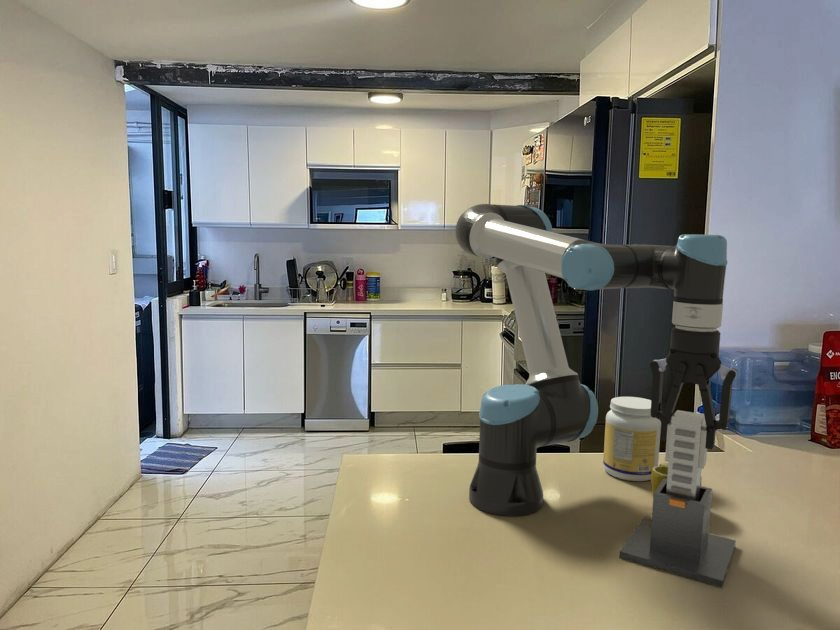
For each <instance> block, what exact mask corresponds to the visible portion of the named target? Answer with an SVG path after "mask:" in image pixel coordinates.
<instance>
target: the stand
mask: <svg viewBox="0 0 840 630" xmlns="http://www.w3.org/2000/svg"><path fill="white" fill-rule="evenodd" d="M666 489H667V479H665V478H664V479H663V480H662V482H661V483H660V485H659V486H658V488H657V489H656V490H655V492H654V495H653V494H652V509H651V510H652V511H651V512H652V513H651V518H649V517H646V516H642V518H641V519H640V520H639V522H638V524H637V525H636V527H635V528H634V530H633V531H632V533H631V534H630V536H629V537H628V539H627V540H626V542H625V543H624V544H623V546H622V547H621V549H620V551H619V559H623V560H626V561H629V562H632V563H635V564H638V565H642V566H646V567H648V568H652V569H656V570H660V571H663V572H666V573H670V574H673V575H676V576H681V577H683V578H687V579H690V580H693V581H697V582H700V583H704V584H706V585H710V586H713V587H716V588H717V587H718V588H720V589H723V587H724V584H725V581H726V578H727V575H728V571H729V567H730V564H731V562H732V558H733V554H734V552H735V548H736V540H735V539H732V538H728V537H724V536H720V535H716V534H712V533H709V531H710V529H709V528H710V522H711V521H710V519H711V518H710V517H711V508H712V507H711V505H712V493H713V488H710V487H706V486H702V485H701V486H700V495H699V502H698V501H694V500H690V499H685V498H681V497H677V496H672V495H668V494H666Z"/></svg>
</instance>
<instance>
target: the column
mask: <svg viewBox="0 0 840 630" xmlns="http://www.w3.org/2000/svg"><path fill="white" fill-rule="evenodd" d="M704 426H705V427H706V422H705V416H704V413H698V412H692V411H686V410H680V409H677V410H676V411H675V412H673V414H672V418H671V435H670V448H669V462H668V475H667V489H666V494H668V495H672V496H677V497H681V498H685V499H690V500H694V501H698V502H699V495H700V483H701V484H702V480H701V477H702V471H703V469H701V468H699V455H700V443H701V430H702V429H703V427H704Z"/></svg>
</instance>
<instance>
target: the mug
mask: <svg viewBox="0 0 840 630" xmlns="http://www.w3.org/2000/svg"><path fill="white" fill-rule="evenodd" d="M667 475H668V463H667V462H665V463H660V464H658V466H657V467H654V468H653V469H652V473H651V480H650V482H651V483H650V484H651V493H652V496H653V495H654V492H655V490H656V489H657V488H658V486H659V485H660V483H661V482H662V480H663V479H664V478H665V479H667ZM702 478H703V477H702V476H701V481H702ZM700 486H702V482H701V483H700Z"/></svg>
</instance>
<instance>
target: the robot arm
mask: <svg viewBox="0 0 840 630" xmlns="http://www.w3.org/2000/svg"><path fill="white" fill-rule="evenodd" d="M454 234H455V239H456V241H457V244H458V245H459V246H460V248H461V249H462V250H463V251H464V252H465V253H467V254H469V255H473V256H475V257H479V258H482V259H491V258H494V259H495V263H496V267H497V270H498V271H500V272H502V273H503V274H505V276H506V281H507V284H508V285H507V286H508V290H509V294H510V299H511V302H512V303H511V304H512V307H513V310H514V311H513V312H514V315H515V320H516V323H517V328H518V332H519V337H520V342H521V344H522V349H523V353H524V358H525V362H526V365H527V370H528V374H529V375H528V379H527V381H526V382H525V384H522V383H516V384H515V383H514V384H501V385H497V386H494V387H492V388H489V389H488V390H486V391H485V392H484V394H483V395H482V397H481V399H480V408H479V413H478V416H479V439H478V440H479V443H478V463H477V466H476V468H475V471H474V474H473V477H472V479H471V482H470V484H469V489H468V500H469V502H470V503H471V504H472V505H473V506H474V507H475V508H477V509H479V510H481V511H482V512H486V513H489V514H493V515H496V516H497V515H499V516H506V517H507V516H508V517H519V516H526V515H527V516H528V515H530V514H533V513H536V512H538V511H539V510H541V508H542V507H543V505H544V491H543V487H542V483H541V480H540V476H539V473H538V470H537V449H538V448H541V447H546V446H551V445H556V444H557V445H558V444H561V443H562V444H563V443H570V442H575V441H577V440H579V439H582V438H585V437H587V436H588V435H589V434H590V433H592V431H593V429H594V427H595V425H596V424H597V422H598V421H597V420H598V417H599V416H598V415H599V405H598V401H597V398H596V395H595V393H594V392H593V391H592V390H591V389H590V388H589V387H588V386H587V385H585V384H582V383H581V381H580V378H579V374H578V372H576V371H574V370H573V369H571V368H570V367H569V363H568V359H567V355H566V351H565V348H564V344H563V339H562V335H561V331H560V327H559V323H558V320H557V316H556V311H555V308H554V303H553V299H552V296H551V291H550V288H549V284H548V280H547V276H546V274H548V275H551V276H554V277H557V278H560V279H563V281H565V282H566V283H567V285H568V286H569V287H570V288H572V289H576V290H585V291H596V290H611V289H612V290H613V289H614V290H615V289H641V288H643V289H645V288H649V289H650V288H653V289H661V290H662V289H665V290H673V302H672V303H673V305H672V317H671V323H672V324H673V325H675V326H674V327H672V328H671V332H670V342H669V343H670V345H669V352H668V354H667V356H666V357H665V358H662V359H653V360H652V361H651V362H650V363H649V366H650V367H649V368H650V370H651V372H652V383H651V384H652V385H651V397H650V398H651V399H650V400H651V416H652V417H653V418H657V419H659V420H660V421H661V432H660V441H664V442H666V443H665V457H664V461H665V462H666V463H667V462H669V448H670V435H671V421H672V415H673V414H674V413H675V412H674V411H675V410H676V409H675V408H676V405H677V403H678V399H679V397H680V393H681V392H682V391H681V390H682V388H683V385H684V384H686V383H692V384H695V385H697V386H698V389H699V394H700V398H701V403H702V404H701V405H702V410H703V414H704V416H705V426H704V427H703V429H702V430H701V443H700V455H699V468H701V469H702V470H704V468H705V467H706V465H707V456H708V450H712V449H713V448H714V446H715V443H716V432H717V431H718V430H726V429H727V428H728V426H729V423H730V414H731V413H730V412H731V401H732V391H733V384H734V381H735V378H736V377H737V375H738V370H737V369H736V368H730V367H727V366H726V365H723V364H722V361H721V359H720V355H719V354H720V342H721V332H720V331H719V330H718V329H719V328H721V327H722V321H723V311H724V310H723V309H724V290H725V289H724V287H725V279H726V272H727V265H728V260H727V259H728V258H727V257H728V256H727V255H728V253H727V251H728V241H727V238H726V237H725V236H723V235H721V234H695V233H694V234H688V233H687V234H681V235H679V237H678V239H677V243H676V245H658V244H646V243H640V244H639V243H635V244H634V243H633V244H607V243H599V242H594V241H591V240H585V239H581V238H578V237H573V236H571V235H566V234H561V233H557V232H554V231H553V226H552V223H551V221H550V219H549V217H548V216H547V214H546V213H545V212H544V211H543V210H541V209H539V208H537V207H534V206H529V205H525V204H518V205H510V204H509V205H508V204H507V205H506V204H494V203H493V204H491V203H479V204H475V205H474V206H473V205H472V206H470V207H467V209H466V210H464V212H463V213H461V214H460V216H459V217H458V219H457V222H456V224H455V233H454ZM667 366H668V367H669V369H670V371H671V372H672V373H673V375H674V379H673V382H672V386H671V390H670V392H669V394H668V397H667V401H666V404H665V406H664V409H663V410H662V403H663V402H662V399H663V387H664V386H663V384H664V371H665V370H667ZM717 372H719V373H720V379H721V380H722V385H721V396H720V407H719V416H718V417H719V418H718V420H717V419H716V414H715V407H714V402H713V396H712V390H711V382H710V379H711V378H712V377H713V376H714V375H715V374H716V373H717Z"/></svg>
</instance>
